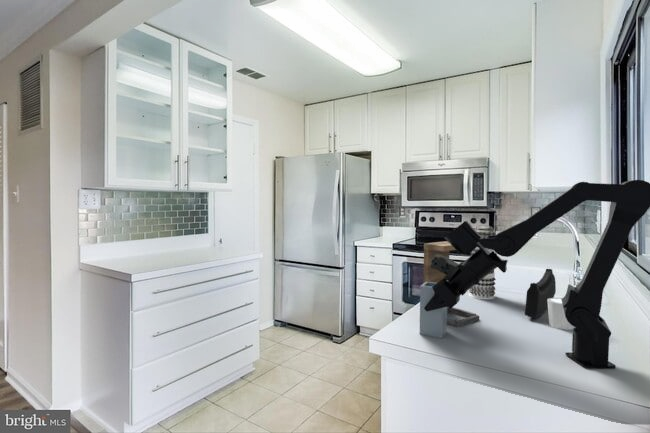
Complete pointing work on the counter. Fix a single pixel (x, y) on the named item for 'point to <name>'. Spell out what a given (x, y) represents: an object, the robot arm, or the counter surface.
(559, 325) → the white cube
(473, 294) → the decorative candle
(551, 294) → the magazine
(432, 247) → the wooden c-shaped stand
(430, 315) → the sleeve
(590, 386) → the counter surface
